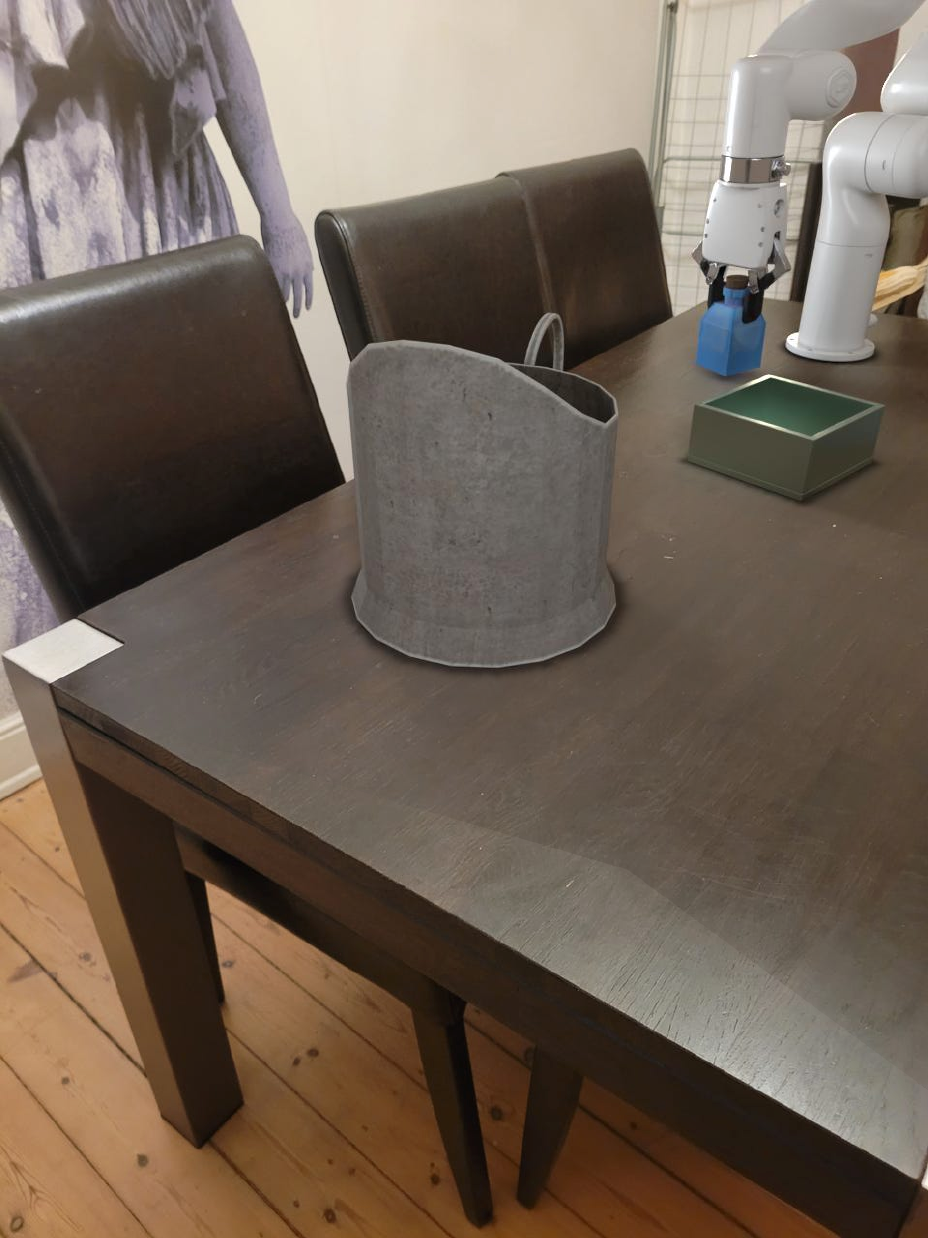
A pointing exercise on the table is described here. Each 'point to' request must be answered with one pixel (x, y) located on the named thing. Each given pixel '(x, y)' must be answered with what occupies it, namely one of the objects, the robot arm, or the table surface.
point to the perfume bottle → (730, 333)
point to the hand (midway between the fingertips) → (732, 315)
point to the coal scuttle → (480, 502)
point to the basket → (784, 435)
